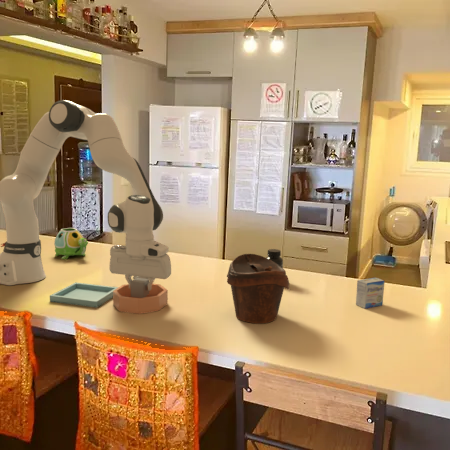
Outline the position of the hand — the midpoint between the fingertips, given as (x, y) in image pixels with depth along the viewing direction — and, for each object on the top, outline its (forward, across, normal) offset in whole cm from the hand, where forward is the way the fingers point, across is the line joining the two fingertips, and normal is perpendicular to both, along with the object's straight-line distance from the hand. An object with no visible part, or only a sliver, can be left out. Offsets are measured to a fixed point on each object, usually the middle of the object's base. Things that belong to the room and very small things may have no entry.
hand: (140, 289), depth 160 cm
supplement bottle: (+5, +36, +39) cm, 53 cm away
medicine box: (+5, +71, +24) cm, 75 cm away
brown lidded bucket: (+5, +38, +2) cm, 39 cm away
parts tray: (+5, -20, 0) cm, 21 cm away
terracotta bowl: (+5, 0, 0) cm, 5 cm away
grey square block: (+2, 0, 0) cm, 2 cm away
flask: (+5, -12, +27) cm, 30 cm away
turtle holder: (+6, -54, +45) cm, 70 cm away
